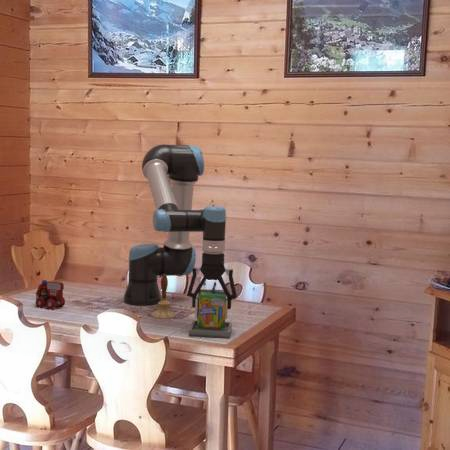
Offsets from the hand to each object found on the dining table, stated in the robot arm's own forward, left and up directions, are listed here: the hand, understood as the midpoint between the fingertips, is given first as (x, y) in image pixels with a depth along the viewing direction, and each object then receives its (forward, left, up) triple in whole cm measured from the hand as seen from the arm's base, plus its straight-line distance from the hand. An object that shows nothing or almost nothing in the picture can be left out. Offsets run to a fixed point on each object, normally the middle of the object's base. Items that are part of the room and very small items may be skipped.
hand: (211, 317), depth 233 cm
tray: (0, 0, -5) cm, 5 cm away
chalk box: (0, 0, -3) cm, 3 cm away
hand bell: (-19, +20, -5) cm, 28 cm away
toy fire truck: (-64, +27, -5) cm, 70 cm away
